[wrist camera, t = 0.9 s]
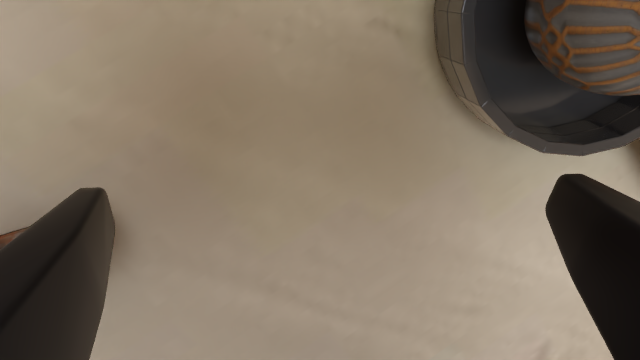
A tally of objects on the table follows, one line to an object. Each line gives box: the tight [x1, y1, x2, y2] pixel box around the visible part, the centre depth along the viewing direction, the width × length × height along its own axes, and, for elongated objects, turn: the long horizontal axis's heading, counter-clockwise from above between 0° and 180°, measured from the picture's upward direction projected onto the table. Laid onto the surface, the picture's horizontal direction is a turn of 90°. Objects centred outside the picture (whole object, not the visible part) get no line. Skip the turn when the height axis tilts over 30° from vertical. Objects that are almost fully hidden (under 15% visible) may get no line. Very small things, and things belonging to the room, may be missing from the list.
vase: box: [524, 0, 640, 96], centre depth 19 cm, size 7×7×9 cm
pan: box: [434, 0, 640, 156], centre depth 22 cm, size 13×13×3 cm
